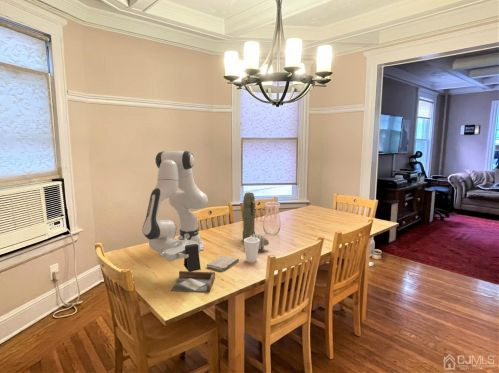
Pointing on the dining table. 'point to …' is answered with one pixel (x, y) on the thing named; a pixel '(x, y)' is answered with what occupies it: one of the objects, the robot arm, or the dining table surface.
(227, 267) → the washcloth
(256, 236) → the toy sheep
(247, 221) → the green cactus
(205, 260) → the dining table surface
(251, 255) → the foam cup
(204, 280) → the tray
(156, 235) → the robot arm
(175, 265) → the dining table surface
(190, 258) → the door stopper
